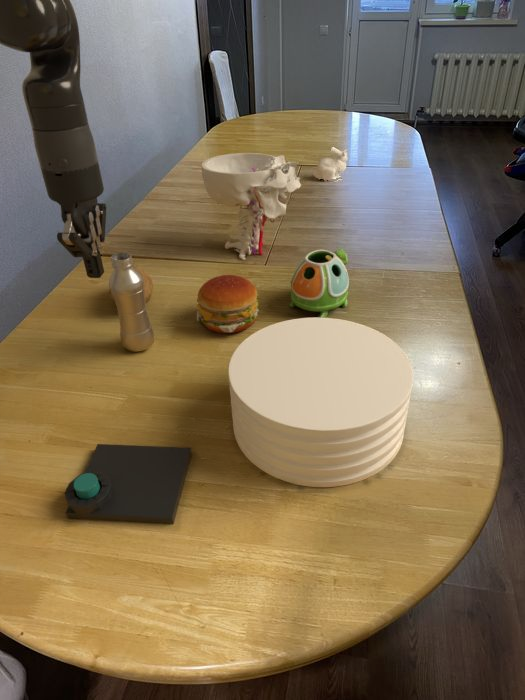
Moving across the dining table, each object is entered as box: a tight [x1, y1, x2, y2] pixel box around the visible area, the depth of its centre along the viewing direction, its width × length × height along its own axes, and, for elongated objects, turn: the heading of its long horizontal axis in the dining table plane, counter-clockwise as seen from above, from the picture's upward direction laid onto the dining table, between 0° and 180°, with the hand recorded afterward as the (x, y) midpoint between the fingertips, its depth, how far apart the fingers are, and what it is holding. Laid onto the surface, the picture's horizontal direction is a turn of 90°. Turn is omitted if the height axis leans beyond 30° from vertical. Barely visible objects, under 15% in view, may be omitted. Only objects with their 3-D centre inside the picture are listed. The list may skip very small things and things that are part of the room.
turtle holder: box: [289, 248, 350, 318], centre depth 114 cm, size 12×18×12 cm
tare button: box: [74, 473, 100, 499], centre depth 72 cm, size 3×3×2 cm
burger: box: [196, 274, 260, 334], centre depth 109 cm, size 13×14×10 cm
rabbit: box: [313, 146, 349, 183], centre depth 184 cm, size 12×9×12 cm
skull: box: [201, 152, 302, 261], centre depth 136 cm, size 25×19×23 cm
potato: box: [108, 265, 154, 305], centre depth 117 cm, size 10×14×8 cm
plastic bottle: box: [108, 251, 155, 352], centre depth 99 cm, size 6×7×20 cm
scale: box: [64, 443, 193, 525], centre depth 75 cm, size 16×13×3 cm
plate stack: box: [227, 317, 414, 488], centre depth 83 cm, size 28×28×12 cm
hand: (96, 275), depth 80 cm, fingers closed
